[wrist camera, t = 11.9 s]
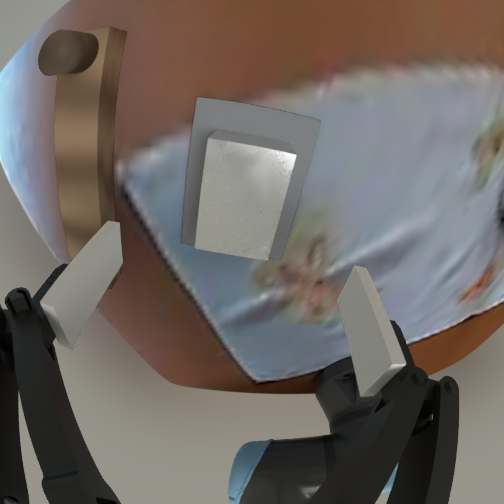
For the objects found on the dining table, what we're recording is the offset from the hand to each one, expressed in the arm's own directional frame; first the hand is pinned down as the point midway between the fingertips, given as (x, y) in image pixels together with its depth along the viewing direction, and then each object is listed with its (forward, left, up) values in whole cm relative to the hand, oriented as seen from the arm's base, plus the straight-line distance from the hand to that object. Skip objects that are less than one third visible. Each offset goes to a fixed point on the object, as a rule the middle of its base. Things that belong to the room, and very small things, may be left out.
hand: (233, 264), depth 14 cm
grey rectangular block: (0, 0, -11) cm, 11 cm away
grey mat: (0, 0, -11) cm, 11 cm away
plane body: (0, +15, -11) cm, 19 cm away
